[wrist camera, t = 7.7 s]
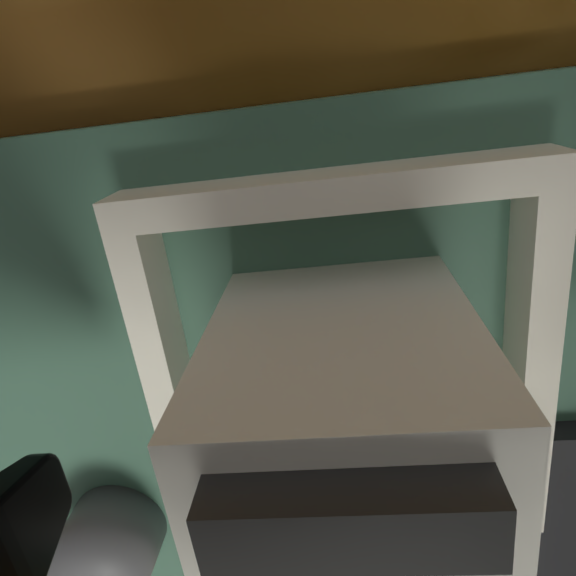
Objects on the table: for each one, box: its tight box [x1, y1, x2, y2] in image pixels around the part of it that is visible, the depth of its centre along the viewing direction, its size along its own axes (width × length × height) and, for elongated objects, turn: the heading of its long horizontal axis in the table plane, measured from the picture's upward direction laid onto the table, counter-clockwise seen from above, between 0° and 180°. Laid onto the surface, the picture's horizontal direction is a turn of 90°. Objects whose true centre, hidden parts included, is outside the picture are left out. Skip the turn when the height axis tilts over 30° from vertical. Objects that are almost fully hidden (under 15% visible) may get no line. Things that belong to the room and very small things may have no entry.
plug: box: [147, 256, 552, 576], centre depth 8 cm, size 4×4×6 cm
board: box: [0, 66, 576, 576], centre depth 10 cm, size 12×18×3 cm, turn 97°
